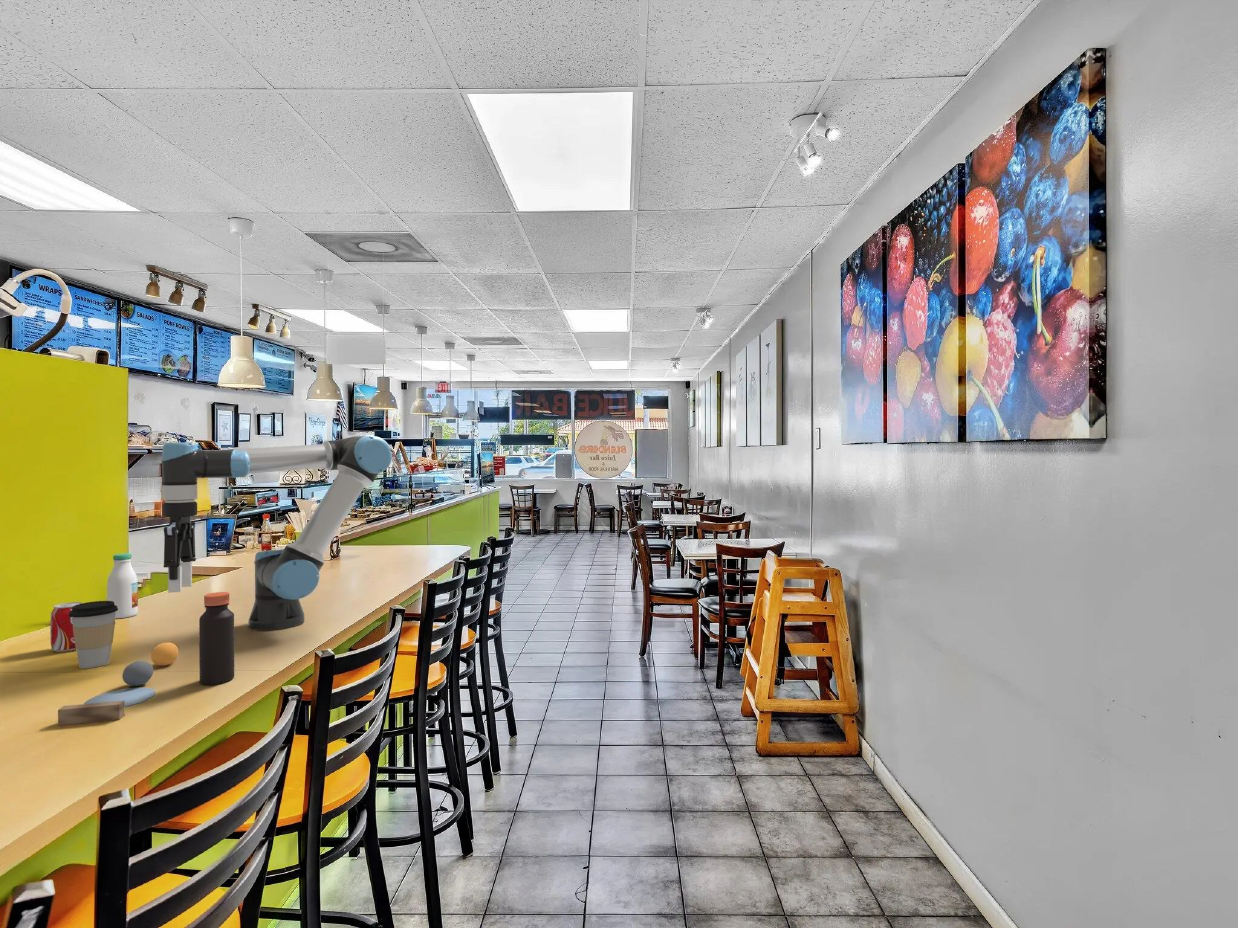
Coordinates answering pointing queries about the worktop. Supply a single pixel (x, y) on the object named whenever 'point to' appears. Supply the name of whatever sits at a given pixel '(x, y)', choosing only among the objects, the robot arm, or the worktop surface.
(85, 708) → the brown wooden block
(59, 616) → the soda can
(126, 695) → the mark
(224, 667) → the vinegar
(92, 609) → the coffee cup
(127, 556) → the milk bottle
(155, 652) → the ball
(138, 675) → the ball
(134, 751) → the worktop surface
